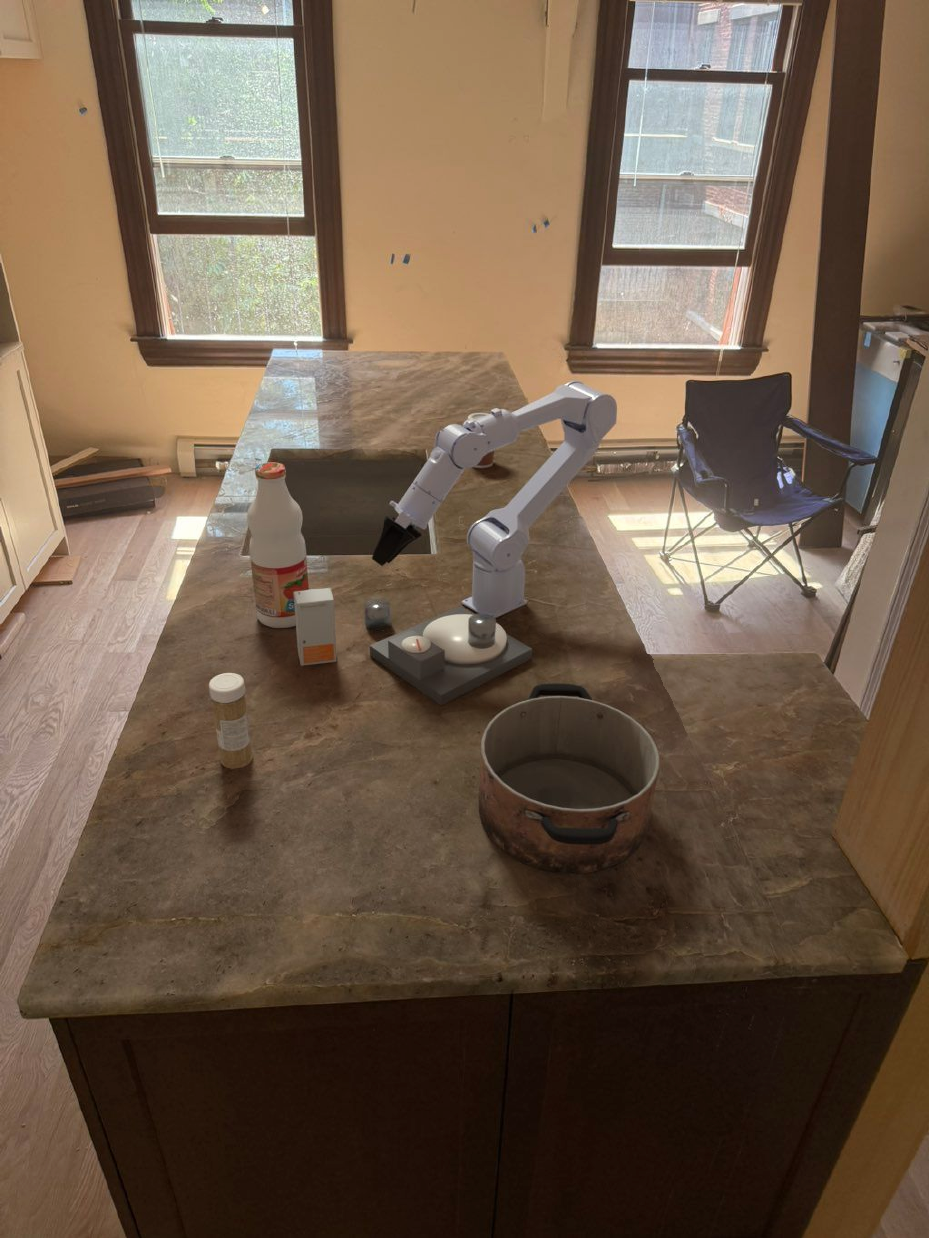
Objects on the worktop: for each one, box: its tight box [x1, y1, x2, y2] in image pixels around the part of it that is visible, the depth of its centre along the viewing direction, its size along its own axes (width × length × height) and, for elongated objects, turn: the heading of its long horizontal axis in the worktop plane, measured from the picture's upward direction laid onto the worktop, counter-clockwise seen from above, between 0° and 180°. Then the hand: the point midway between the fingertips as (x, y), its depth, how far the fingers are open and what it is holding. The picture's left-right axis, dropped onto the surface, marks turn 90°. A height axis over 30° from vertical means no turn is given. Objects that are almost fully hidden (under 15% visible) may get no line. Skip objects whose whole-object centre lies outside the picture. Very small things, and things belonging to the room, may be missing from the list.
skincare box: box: [293, 587, 337, 667], centre depth 142 cm, size 6×4×12 cm
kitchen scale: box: [369, 606, 533, 706], centre depth 144 cm, size 20×18×6 cm
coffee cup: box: [462, 412, 495, 469], centre depth 218 cm, size 9×9×12 cm
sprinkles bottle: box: [208, 672, 254, 769], centre depth 119 cm, size 5×5×13 cm
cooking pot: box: [478, 682, 660, 875], centre depth 113 cm, size 30×22×11 cm
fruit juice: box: [246, 461, 310, 629], centre depth 148 cm, size 9×9×28 cm
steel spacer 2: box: [468, 613, 497, 649], centre depth 144 cm, size 4×4×4 cm
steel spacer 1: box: [363, 598, 392, 632], centre depth 153 cm, size 4×4×4 cm
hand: (380, 561), depth 144 cm, fingers open, 7 cm apart
